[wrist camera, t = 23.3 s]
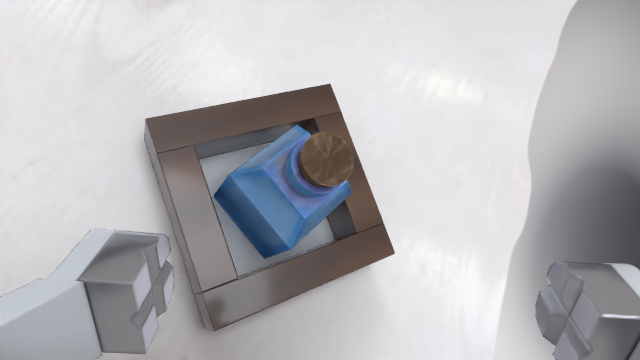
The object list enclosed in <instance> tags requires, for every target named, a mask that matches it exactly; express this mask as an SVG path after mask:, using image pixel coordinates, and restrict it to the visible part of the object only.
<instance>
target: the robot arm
mask: <svg viewBox="0 0 640 360" xmlns="http://www.w3.org/2000/svg"><path fill="white" fill-rule="evenodd" d="M170 251H171V248H170V242H169V238H168V237H167V236H166V235H165V234H155V233H144V232H133V231H121V230H119V231H117V230H107V229H93V230H90V231H89V232H88V233H87V234H86V235H85V236H84V237H83V239H82V240H81V241H80V242H79V243H78V244H77V245H76V247H75V248H74V249H73V250H72V251H71V252H70V253H69V254H68V256H67V257H66V258H65V259H64V260H63V261H62V262H61V264H60V265H59V266H58V267H57V268H56V269H55V270H54V272H53V273H52V274H51V275H50V276H49V277H48V278H47V279H37V280H35V281H33V282H31V283H29V284H26V285H24V286H22V287H20V288H18V289H16V290H14V291H12V292H10V293H7V294H5V295H3V296H1V297H0V360H97V359H98V358H99V357H100V356H102V352H103V353H128V354H146V353H147V351H148V349H149V347H150V344H151V342H152V340H153V338H154V336H155V334H156V332H157V330H158V322H157V317H158V316H160V315H161V314H163V313H164V312H166V310H167V308H168V306H169V304H170V301H171V298H172V293H173V289H174V270H173V267H172V265H171V264H170V263H169V262H168V261H167V260H166V259H167V257H168V255H169V253H170ZM546 276H547V279H548V281H549V283H550V285H548V286H547V287H546V288H544V289H543V290H542V291H540V292H539V295H538V298H537V302H536V320H537V324H538V327H539V329H540V331H541V333H542V335H543V337H545V338H546V339H547V340H548V341H550V342H551V343H552V344H554V345H555V349H554V352H553V356H554V358H555V360H640V271H639V270H638V268H636V267H634V266H632V265H630V264H615V263H604V264H598V263H582V262H581V263H580V262H565V261H555V262H554V263H553V264H552V265H551V266H550V267H549V270H548V272H547V275H546Z"/></svg>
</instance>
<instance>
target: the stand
mask: <svg viewBox="0 0 640 360" xmlns="http://www.w3.org/2000/svg"><path fill="white" fill-rule="evenodd" d="M296 125H298V126H300V127H301V128H303V129H304V130H306V131H307V132H309V133H310V135H311V136H312V135H314V134H316V133H319V132H329V133H333V134H335V135H337V136H339V137H341V138H342V139H343V140H344V141H345V142H346V143H347V144H348V146H349V148H350V149H351V152H352V155H353V159H354V162H353V170H352V173H351V175H350V176H349V178H348V179H347V181H348V183H349V186H350V189H351V191H352V194H350V195H349V196H348V197H347V198H346V199H345V200H344V201H343V202H342V203H341V204H339V205H338V206H337V207H336V208H335V209H334V210H333V211H332V212H331V213H330V214H329V215H327V217H328V220H329V223H330V225H331V228H332V231H333V234H334V236H335V239H336V240H334V241H332V242H329V243H326V244H324V245H321V246H319V247H316V248H313V249H311V250H308V251H305V252H303V253H300V254H298V255H295V256H292V257H290V258H287V259H285V260H282V261H279V262H277V263H274V264H271V265H269V266H266V267H264V268H261V269H258V270H256V271H253V272H250V273H248V274H245V275H243V276H240V277H238V275H237V272H236V269H235V266H234V263H233V260H232V257H231V254H230V251H229V249H228V246H227V243H226V240H225V237H224V234H223V231H222V228H221V225H220V222H219V219H218V216H217V213H216V210H215V207H214V204H213V201H212V198H211V195H210V192H209V189H208V186H207V183H206V180H205V177H204V174H203V171H202V168H201V165H200V162H199V159H201V158H205V157H210V156H214V155H218V154H222V153H226V152H230V151H234V150H238V149H242V148H247V147H251V146H255V145H259V144H263V143H267V142H271V141H275V140H277V139H278V138H280V137H281V136H282V135H284V134H285V133H287V132H288V131H289V130H291V129H292V128H293V127H295V126H296ZM144 140H145V144H146V147H147V150H148V153H149V156H150V159H151V162H152V165H153V169H154V171H155V175H156V178H157V181H158V184H159V187H160V190H161V193H162V196H163V200H164V203H165V206H166V209H167V212H168V215H169V218H170V221H171V224H172V228H173V231H174V234H175V237H176V240H177V243H178V246H179V249H180V253H181V256H182V259H183V262H184V265H185V268H186V271H187V274H188V277H189V281H190V284H191V287H192V290H193V293H194V296H195V299H196V302H197V305H198V309H199V312H200V315H201V318H202V321H203V324H204V327H205V328H207V329H210V330H213V331H216V330H218V329H221V328H223V327H225V326H227V325H230V324H232V323H234V322H237V321H239V320H241V319H244V318H246V317H248V316H251V315H253V314H255V313H258V312H260V311H262V310H265V309H267V308H269V307H272V306H274V305H276V304H279V303H281V302H283V301H286V300H288V299H290V298H293V297H295V296H297V295H300V294H302V293H304V292H307V291H309V290H311V289H314V288H316V287H318V286H321V285H323V284H325V283H328V282H330V281H332V280H335V279H337V278H339V277H342V276H344V275H346V274H349V273H351V272H353V271H356V270H358V269H360V268H363V267H365V266H367V265H370V264H372V263H374V262H377V261H379V260H381V259H384V258H386V257H388V256H391V255H393V254H395V252H394V249H393V247H392V244H391V241H390V239H389V236H388V234H387V231H386V228H385V226H384V224H383V220H382V217H381V215H380V212H379V210H378V207H377V204H376V202H375V199H374V197H373V194H372V191H371V189H370V186H369V184H368V181H367V178H366V176H365V173H364V170H363V168H362V165H361V163H360V160H359V157H358V155H357V152H356V150H355V147H354V144H353V142H352V139H351V136H350V134H349V131H348V129H347V126H346V123H345V121H344V118H343V116H342V113H341V110H340V108H339V105H338V102H337V100H336V97H335V95H334V92H333V89H332V87H331V84H326V85H321V86H316V87H310V88H305V89H300V90H295V91H289V92H284V93H279V94H273V95H268V96H263V97H258V98H252V99H247V100H242V101H237V102H231V103H226V104H221V105H216V106H210V107H205V108H200V109H194V110H189V111H184V112H179V113H173V114H168V115H163V116H158V117H152V118H147V119H145V134H144Z"/></svg>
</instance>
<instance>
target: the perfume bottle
mask: <svg viewBox="0 0 640 360" xmlns="http://www.w3.org/2000/svg"><path fill="white" fill-rule="evenodd" d="M353 162H354V159H353V155H352V152H351V149H350V148H349V146H348V144H347V143H346V142H345V141H344V140H343V139H342V138H341V137H339V136H337V135H335V134H333V133H329V132H319V133H316V134H314V135H312V136H311V135H310V133H309V132H307V131H306V130H304V129H303V128H301V127H300V126H298V125H296V126H295V127H293V128H292V129H291V130H289V131H288V132H287V133H285V134H284V135H282V136H281V137H280V138H278V139H277V140H276V141H274V142H273V143H272V144H270V145H269V146H268V147H266V148H265V149H263V150H262V151H261V152H259V153H258V154H257V155H255V156H254V157H253V158H251V159H250V160H248V161H247V162H246V163H244V164H243V165H242V166H240V167H239V168H238V169H236V170H235V171H234V172H232V173H231V174H229V176H228V177H227V178H226V180H225V181H224V182H223V184H222V185H221V186H220V188H219V189H218V191H217V192H216V193H215V195H214V196H213V197H214V198H215V199H216V200H217V202H218V203H219V204H220V205H221V206H222V208H223V209H224V210H225V211H226V213H227V214H228V215H229V216H230V217H231V219H232V220H233V221H234V222H235V223H236V225H237V226H238V227H239V228H240V229H241V231H242V232H243V233H244V234H245V236H246V237H247V238H248V239H249V240H250V242H251V243H252V244H253V245H254V246H255V248H256V249H257V250H258V251H259V253H260V254H261V255H262V256H263V257H264V259H265V258H268V257H270V256H273V255H276V254H279V253H282V252H285V251H287V250H290V249H291V248H292V247H294V246H295V245H296V244H297V243H298V242H299V241H300V240H301V239H302V238H303V237H305V236H306V235H307V234H308V233H309V232H310V231H311V230H312V229H313V228H314V227H315V226H317V225H318V224H319V223H320V222H321V221H322V220H323V219H324V218H325V217H326V216H327V215H329V214H330V213H331V212H332V211H333V210H334V209H335V208H336V207H337V206H338V205H339V204H341V203H342V202H343V201H344V200H345V199H346V198H347V197H348V196H349V195H350V194H352V191H351V189H350V186H349V183H348V181H347V179H348V178H349V176H350V175H351V173H352V170H353Z"/></svg>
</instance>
